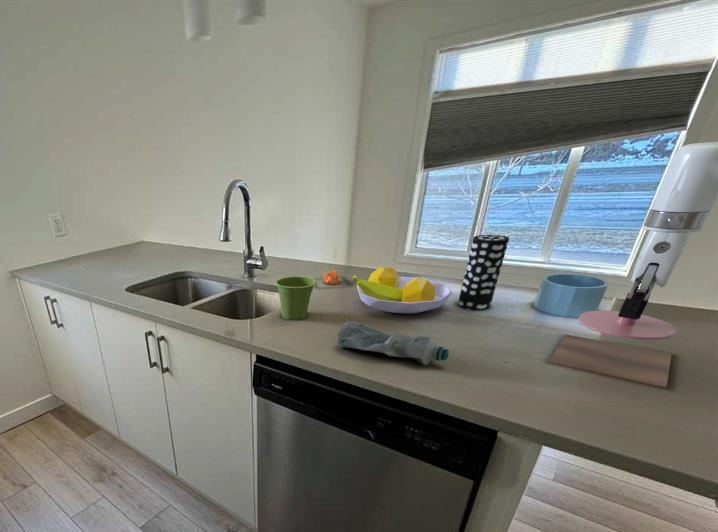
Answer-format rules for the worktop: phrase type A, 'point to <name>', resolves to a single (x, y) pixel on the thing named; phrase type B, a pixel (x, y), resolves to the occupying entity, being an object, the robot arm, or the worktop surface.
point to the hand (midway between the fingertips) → (629, 314)
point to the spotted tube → (482, 271)
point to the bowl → (570, 294)
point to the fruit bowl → (401, 292)
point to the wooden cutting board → (614, 360)
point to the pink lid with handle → (627, 325)
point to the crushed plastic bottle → (390, 343)
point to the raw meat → (331, 278)
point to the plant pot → (295, 296)
